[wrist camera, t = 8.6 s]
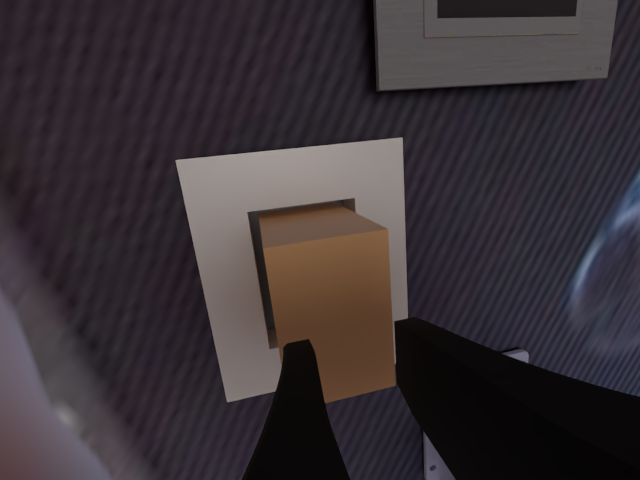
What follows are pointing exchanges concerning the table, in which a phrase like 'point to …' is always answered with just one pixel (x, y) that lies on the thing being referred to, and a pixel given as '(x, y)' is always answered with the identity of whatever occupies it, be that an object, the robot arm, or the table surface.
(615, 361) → the table surface
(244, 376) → the socket block
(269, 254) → the plug
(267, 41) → the table surface
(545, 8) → the electrical outlet
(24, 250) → the table surface
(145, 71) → the table surface
